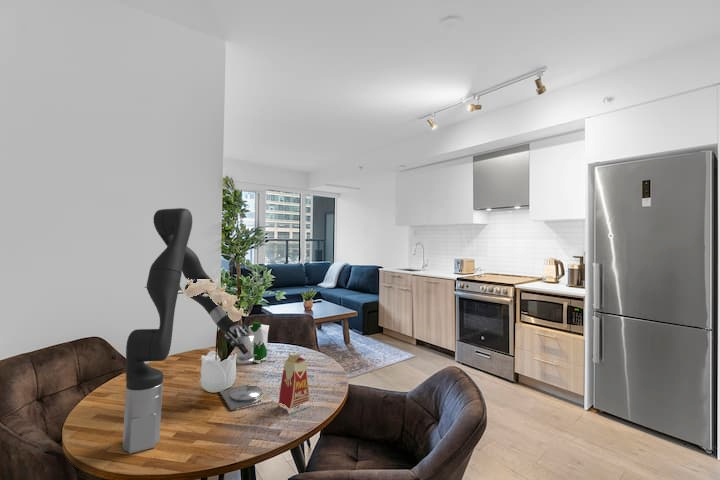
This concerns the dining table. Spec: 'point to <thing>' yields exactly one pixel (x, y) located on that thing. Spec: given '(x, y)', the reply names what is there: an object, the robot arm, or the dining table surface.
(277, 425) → the dining table surface
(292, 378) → the milk carton
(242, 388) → the plate on grey tray
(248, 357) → the hub
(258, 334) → the soya milk
